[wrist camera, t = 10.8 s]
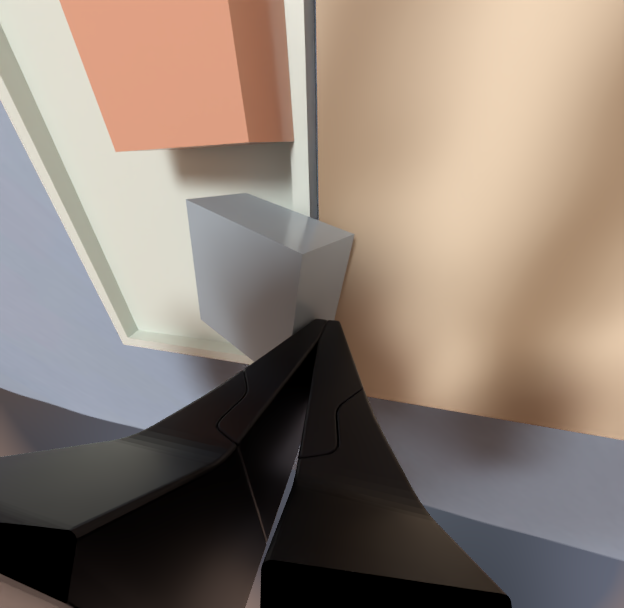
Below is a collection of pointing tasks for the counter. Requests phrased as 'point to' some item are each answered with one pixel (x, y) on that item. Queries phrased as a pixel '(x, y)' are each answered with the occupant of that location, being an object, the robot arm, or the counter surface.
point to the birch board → (479, 202)
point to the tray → (144, 176)
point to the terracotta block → (186, 71)
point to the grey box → (263, 269)
